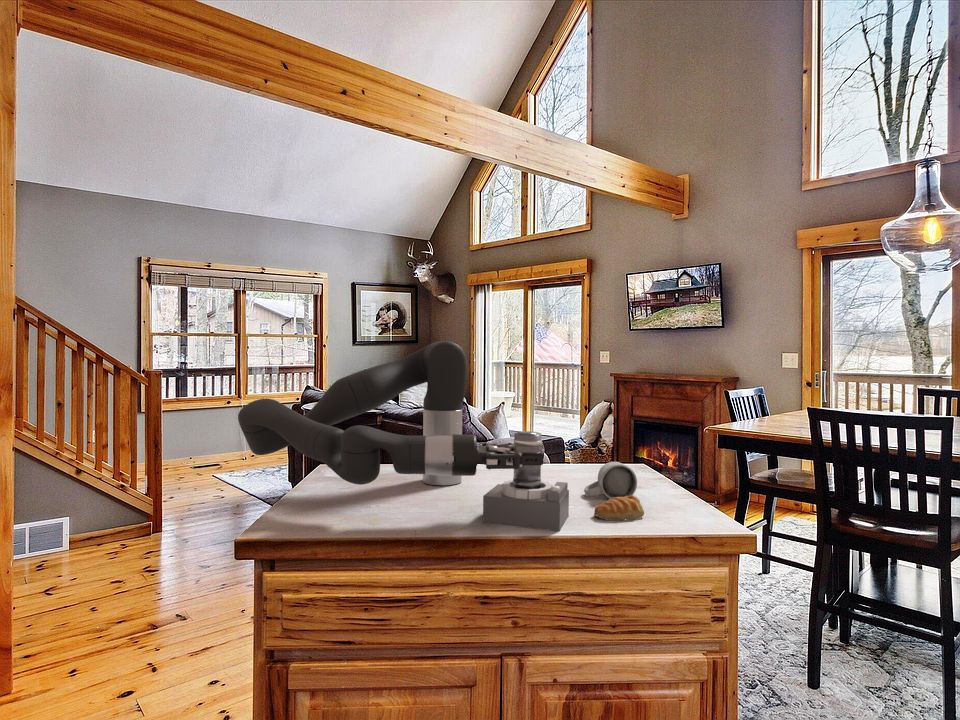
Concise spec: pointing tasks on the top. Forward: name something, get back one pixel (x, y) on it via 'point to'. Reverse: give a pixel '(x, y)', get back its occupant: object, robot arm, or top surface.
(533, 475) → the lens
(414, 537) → the top surface
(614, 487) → the ceramic mug
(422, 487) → the top surface
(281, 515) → the top surface
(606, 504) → the pastry
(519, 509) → the grey socket block
